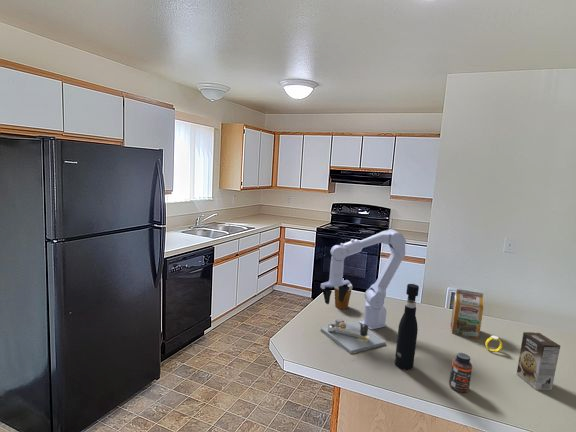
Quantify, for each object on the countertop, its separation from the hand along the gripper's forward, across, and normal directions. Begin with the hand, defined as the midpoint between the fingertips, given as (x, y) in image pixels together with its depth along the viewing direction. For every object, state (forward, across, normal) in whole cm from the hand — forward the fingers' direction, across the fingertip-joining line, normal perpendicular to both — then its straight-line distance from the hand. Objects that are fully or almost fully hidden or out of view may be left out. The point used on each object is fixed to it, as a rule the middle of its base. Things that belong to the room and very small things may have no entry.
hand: (333, 302), depth 156 cm
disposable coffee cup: (+10, -16, -14) cm, 24 cm away
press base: (+10, 0, +14) cm, 17 cm away
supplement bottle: (+10, -11, +55) cm, 57 cm away
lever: (+8, +2, +13) cm, 15 cm away
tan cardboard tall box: (+10, -52, +29) cm, 60 cm away
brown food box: (+10, -39, +64) cm, 76 cm away
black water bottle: (+10, -4, +38) cm, 40 cm away
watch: (+10, -47, +45) cm, 66 cm away
